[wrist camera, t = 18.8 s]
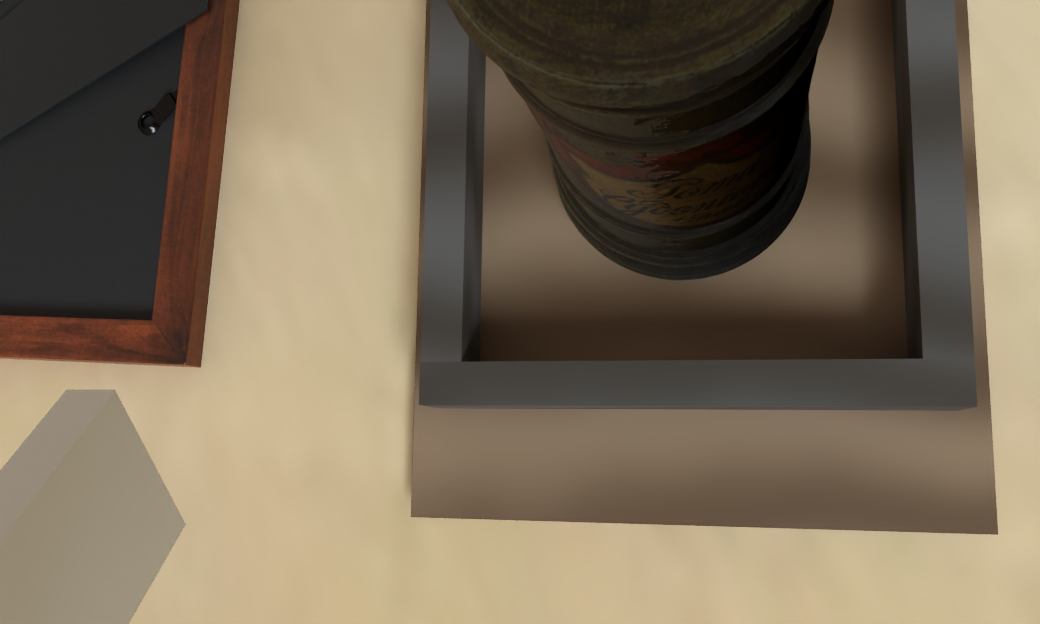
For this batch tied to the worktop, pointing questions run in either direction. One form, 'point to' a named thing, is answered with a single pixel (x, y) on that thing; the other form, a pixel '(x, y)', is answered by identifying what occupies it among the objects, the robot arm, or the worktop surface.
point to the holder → (714, 315)
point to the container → (665, 118)
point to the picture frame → (110, 176)
